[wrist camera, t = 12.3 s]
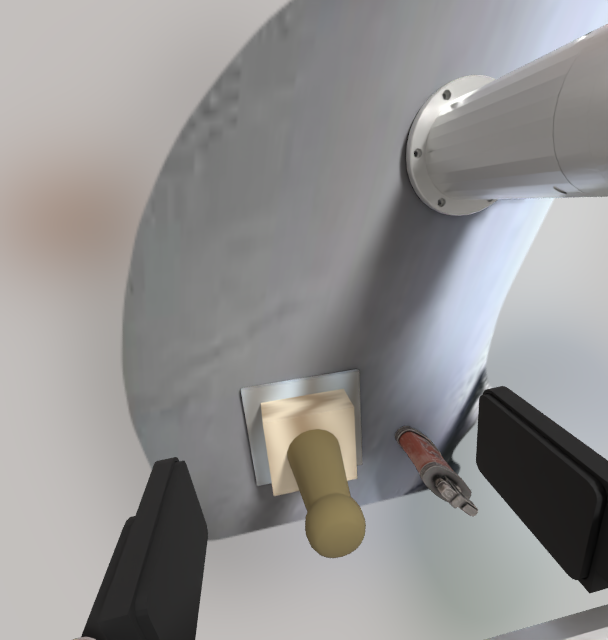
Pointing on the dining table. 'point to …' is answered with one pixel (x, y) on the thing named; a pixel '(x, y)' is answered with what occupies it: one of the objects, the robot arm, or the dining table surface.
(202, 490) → the dining table surface
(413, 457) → the lighter
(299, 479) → the olive brown knobbed peg
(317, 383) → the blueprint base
